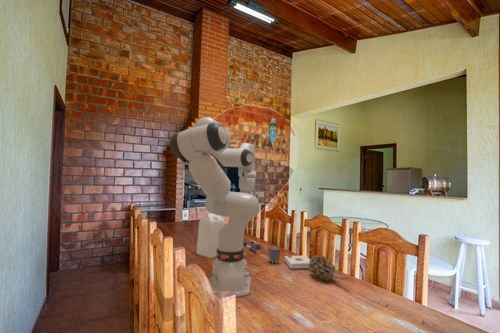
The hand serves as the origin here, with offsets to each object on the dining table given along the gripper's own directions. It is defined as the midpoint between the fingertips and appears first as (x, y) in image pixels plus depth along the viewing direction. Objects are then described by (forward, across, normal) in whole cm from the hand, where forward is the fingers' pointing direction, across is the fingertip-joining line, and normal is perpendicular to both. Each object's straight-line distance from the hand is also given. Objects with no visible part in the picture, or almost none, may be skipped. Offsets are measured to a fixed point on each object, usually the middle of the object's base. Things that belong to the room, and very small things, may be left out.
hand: (245, 198), depth 148 cm
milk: (+34, -14, -16) cm, 40 cm away
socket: (+33, +15, +26) cm, 44 cm away
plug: (+33, +8, +14) cm, 37 cm away
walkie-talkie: (+34, -18, +11) cm, 40 cm away
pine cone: (+33, +36, +30) cm, 57 cm away
